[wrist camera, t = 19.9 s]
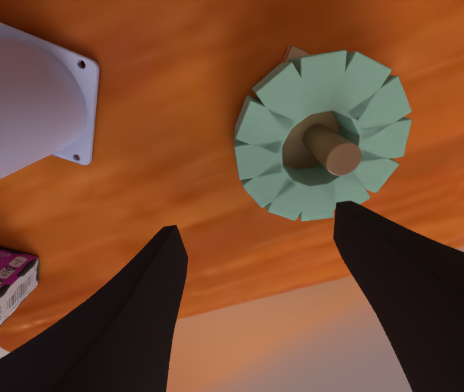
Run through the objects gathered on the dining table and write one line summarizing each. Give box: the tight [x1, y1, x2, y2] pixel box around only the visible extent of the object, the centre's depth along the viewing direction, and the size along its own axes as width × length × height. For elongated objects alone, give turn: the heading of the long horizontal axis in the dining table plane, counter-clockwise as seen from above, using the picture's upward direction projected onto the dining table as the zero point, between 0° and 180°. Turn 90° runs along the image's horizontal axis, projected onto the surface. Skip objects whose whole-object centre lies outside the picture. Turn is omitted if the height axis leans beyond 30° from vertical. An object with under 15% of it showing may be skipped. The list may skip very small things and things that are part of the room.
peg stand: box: [281, 45, 362, 176], centre depth 15 cm, size 9×9×6 cm
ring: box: [234, 50, 412, 221], centre depth 16 cm, size 11×11×3 cm
